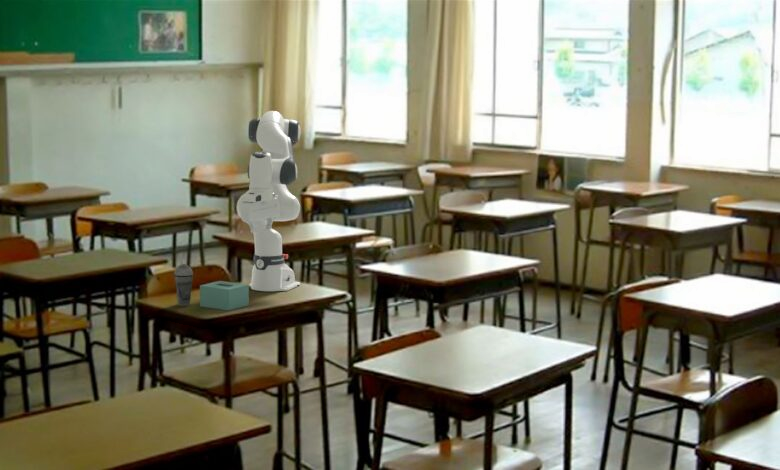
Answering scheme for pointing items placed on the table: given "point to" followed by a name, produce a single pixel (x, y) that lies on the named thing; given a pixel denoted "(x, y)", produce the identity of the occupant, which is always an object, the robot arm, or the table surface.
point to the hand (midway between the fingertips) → (261, 231)
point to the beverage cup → (183, 283)
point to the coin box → (224, 295)
